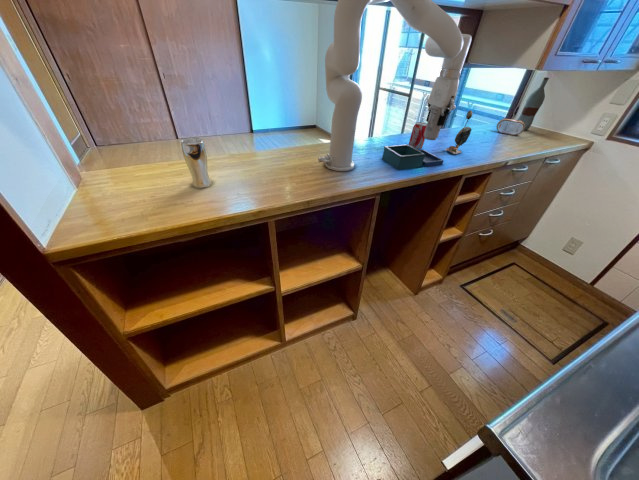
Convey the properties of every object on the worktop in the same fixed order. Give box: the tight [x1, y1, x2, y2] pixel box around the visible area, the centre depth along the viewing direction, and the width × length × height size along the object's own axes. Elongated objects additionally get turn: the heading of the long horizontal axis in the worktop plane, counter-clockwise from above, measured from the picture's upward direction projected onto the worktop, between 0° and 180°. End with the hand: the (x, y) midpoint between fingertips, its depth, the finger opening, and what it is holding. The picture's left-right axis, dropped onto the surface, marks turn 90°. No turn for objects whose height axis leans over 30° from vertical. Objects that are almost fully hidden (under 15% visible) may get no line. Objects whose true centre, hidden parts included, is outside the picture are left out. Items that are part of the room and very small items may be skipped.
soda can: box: [408, 121, 427, 150], centre depth 132 cm, size 7×7×12 cm
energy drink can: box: [424, 105, 447, 141], centre depth 112 cm, size 6×6×15 cm
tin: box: [496, 118, 525, 136], centre depth 164 cm, size 15×3×8 cm, turn 58°
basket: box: [381, 143, 426, 171], centre depth 117 cm, size 13×13×6 cm
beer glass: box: [180, 137, 212, 189], centre depth 88 cm, size 7×7×15 cm
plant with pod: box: [445, 110, 474, 155], centre depth 128 cm, size 8×11×20 cm
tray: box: [419, 149, 445, 168], centre depth 122 cm, size 10×14×2 cm
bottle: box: [516, 76, 550, 132], centre depth 169 cm, size 9×9×30 cm
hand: (434, 122), depth 113 cm, fingers closed on energy drink can, 6 cm apart
